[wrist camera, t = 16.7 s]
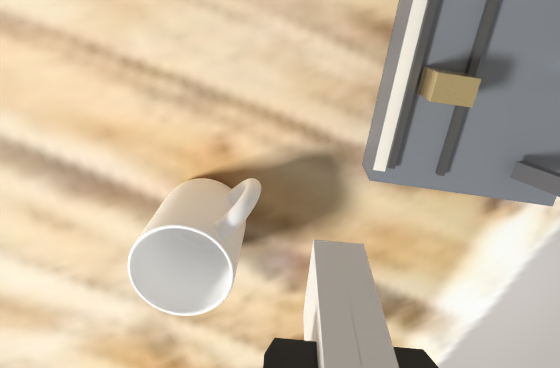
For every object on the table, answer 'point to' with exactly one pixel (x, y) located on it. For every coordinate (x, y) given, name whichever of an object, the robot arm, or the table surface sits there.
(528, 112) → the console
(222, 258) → the mug
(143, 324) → the table surface
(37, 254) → the table surface
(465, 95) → the brass slider
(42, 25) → the table surface
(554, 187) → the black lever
